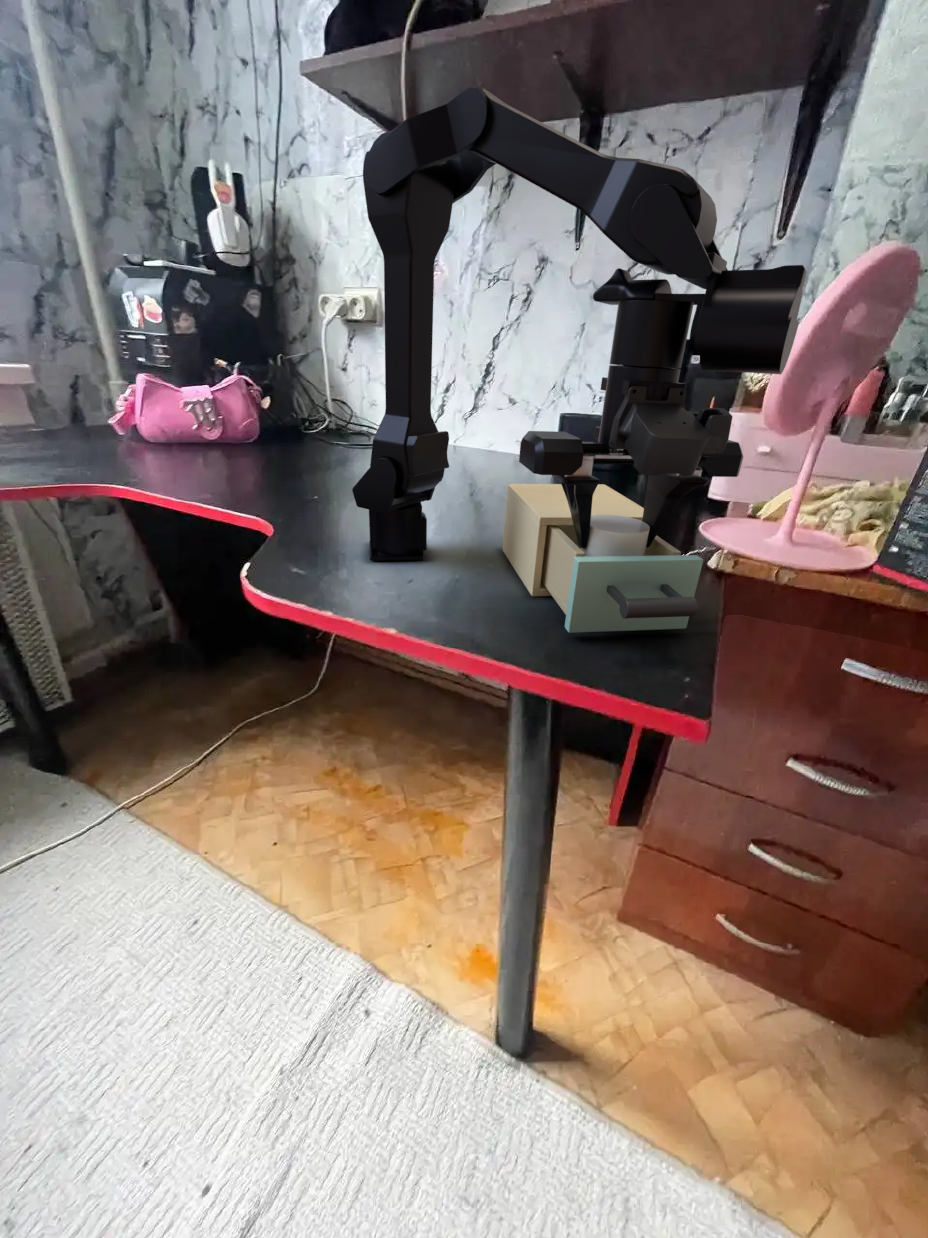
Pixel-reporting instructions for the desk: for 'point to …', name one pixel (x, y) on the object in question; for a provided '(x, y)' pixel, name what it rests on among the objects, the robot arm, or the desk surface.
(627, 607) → the drawer
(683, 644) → the desk surface
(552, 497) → the cabinet
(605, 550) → the cylinder
